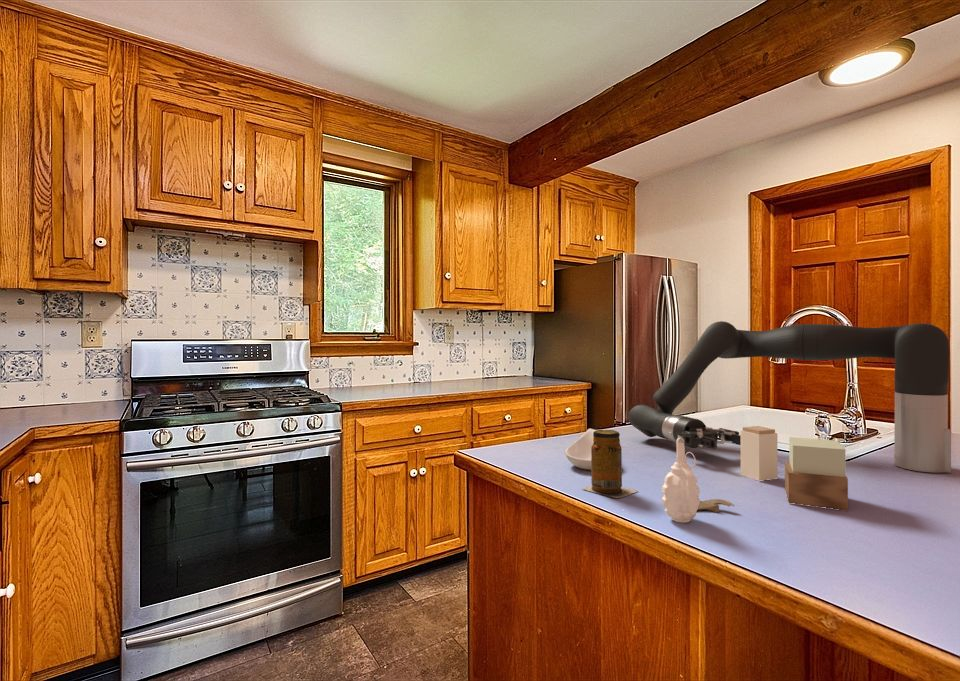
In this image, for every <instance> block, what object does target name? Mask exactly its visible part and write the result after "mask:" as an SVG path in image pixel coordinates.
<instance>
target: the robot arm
mask: <svg viewBox="0 0 960 681" xmlns="http://www.w3.org/2000/svg"><path fill="white" fill-rule="evenodd" d="M949 340H950V339H949V337H948V335H947V333H946V332H944V330H943V329H941V328H940V327H938V326H936V325H935V324H930V323H923V322H922V323H913V324H906V325H897V326H896V325H895V326H881V327H861V326H852V325H843V324H828V323H806V324H803V323H802V324H791V325H787V326H782V327H777V328H772V329H768V330H743V329H737V328H736V327H735V326H734V325H733V324H731V323H730V322H727V321H722V320H720V321H715V322H713V323H711V324H710V325H708V326H707V327H706V329H705V330H704V331H703V333H702V334H701V336H700V337H699V339H698V340H697V341H696V344H695V345H694V346H693V347H692V350H691V351H690V352H689V353H688V354H687V356H686V358H685V359H684V360H683V361H682V363H681V364H680V365H679V366H678V367H677V368H676V370H674V372H673V373H672V374H671V375H670V377H668V379H667V380H665V382H664V383H663V384H662V385H661V386H660V387H659V388H658V389H657V390H656V391H655V393H654V394H653V395H652V400H653V401H654V402H655V403H656V405H657V409H656V408H654V407H652V406H650V405H646V404H636V405H635V406H633V407H632V408H631V409H629V412H628V416H627V418H628V422H629V423H630V425H631V426H633V428H635V429H637V430H638V431H640V432H641V433H642V434H643V435H645V436H647V437H649V438H653V437H656V436H657V437H659V438H661V439H664V440H667V441H670V442H672V443H674V444H676V440H677V439H678V438H681V439H684V445H685V447H688V448H690V449H691V448H692V449H697V448H702V447H706V448H708V449H713V450H715V449H717V448H718V444H719V445H724V444H726V443H727V444H734V445H738V446H741V441H740V432H739V430H731V429H729V428H728V429H727V428H723V427H719V428H713V427H709V426H706V424H705V423H704V421H702V420H701V419H698V418H694V417H689V416H684V415H680V414H673V412H674V411H675V410H676V408H678V407H679V405H680V404H681V403H682V402H683V401H684V400H685V399H686V398H687V397H688V395H689V394H690V393H691V392H692V390H693V389H694V388H695V386H696V384H697V382H698V381H699V379H700V377H701V376H702V375H703V373H704V372H705V370H707V368H708V367H709V366H710V365H712V363H713V362H714V361H715V360H717V359H718V358H720V359H724V360H725V359H727V360H729V359H741V358H742V359H743V358H761V357H762V358H772V359H773V358H774V359H787V360H804V361H805V360H806V361H837V360H838V361H841V360H850V359H859V358H880V359H881V358H882V359H891V360H893V359H894V454H893V459H894V462H893V463H894V465H895V466H897V467H898V468H902V469H905V470H911V471H916V472H923V473H933V474H934V473H952V429H950V428H948V427H949V426H948V422H949V421H948V420H949V417H948V416H949V415H948V412H949V411H948V410H949V408H948V406H949V405H948V404H949V402H948V401H949V400H948V398H949V395H948V394H949V391H948V390H949V381H950V341H949ZM719 439H720V440H719Z"/></svg>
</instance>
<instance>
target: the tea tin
mask: <svg viewBox="0 0 960 681" xmlns="http://www.w3.org/2000/svg"><path fill="white" fill-rule="evenodd" d="M739 435H740V441H741V445H740V476H741V475H743V476H747V477H749V478H753V479H756V480H759V481H760V480H767V479H775V478H778V476H779V475H778V473H779V472H778V469H779V468H778V433H777V432H776V429H774V428H768V427H765V426H761V425H757V426H756V425H754V426H753V425H752V426H743V427H742V430H740V432H739ZM743 476H742V477H743ZM749 478H748V479H749ZM778 479H779V478H778Z"/></svg>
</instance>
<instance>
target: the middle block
mask: <svg viewBox="0 0 960 681" xmlns="http://www.w3.org/2000/svg"><path fill="white" fill-rule="evenodd" d="M788 438H789V441H788V442H789V448H788V449H789V453H788V454H789V455H788V456H789V457H788V458H789V460H788V462H790V465H791V468H792V471H793V472H797V473H807V474H817V475H827V476H837V477H845V475H846V449H845V447H844V446H843V445H842V443H841V442H840V441H839V440H832V439H820V438H818V439H817V438H807V437H792V436H789V437H788Z"/></svg>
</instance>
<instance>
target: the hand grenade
mask: <svg viewBox="0 0 960 681" xmlns="http://www.w3.org/2000/svg"><path fill="white" fill-rule="evenodd" d="M675 444H676V448H675V449H676V457H675V459H676V461H675V462H674V463H673V465H671V466H670V471H669V472H668V473H667V474H666V476H664V480H663V482H664V483H663V485H662V487H661V493H662V494H663V497H661V502H662V503H661V504H662V506H663V507H665V509H664V512H665V515H667V516H668V517H670V518H671V520H672V521H674V522H677V523H681V524H682V523H684V524H685V523H690V522H691V521H692V519H695V517H696V516H697V511H699V510H698V506H699V503H700V501H701V499H700V497H699V494H700V493H701V491H700V486H698V485H697V483H698V480H697V477H696V476H695V475H694V472H693V471H692V470H694V469H695V467H696V465H697V458H696V456H695V455H694V453H692V451H687V452H686V453H685V451H686V449H685V447H686V446H685V445H684V439H681V438H678V439H677V440H676V443H675ZM688 454H691V455H692V456H693V459H694V462H693V466H692V467H690V466H689V464H688V461H687V455H688Z"/></svg>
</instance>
